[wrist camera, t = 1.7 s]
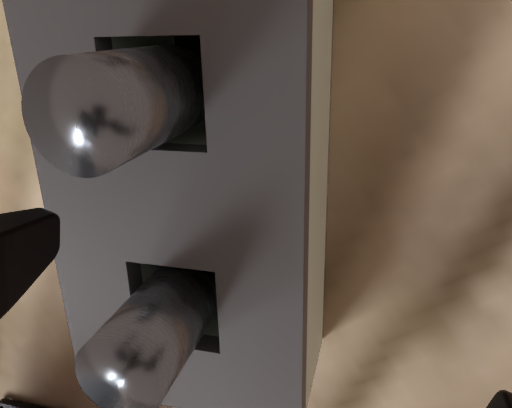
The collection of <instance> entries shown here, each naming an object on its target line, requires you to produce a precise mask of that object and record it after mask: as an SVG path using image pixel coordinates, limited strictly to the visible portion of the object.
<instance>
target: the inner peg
mask: <svg viewBox="0 0 512 408" xmlns="http://www.w3.org/2000/svg"><path fill="white" fill-rule="evenodd" d="M216 313H217V296H216V280H215V272H211V271H202V270H194V269H185V268H177V267H168V266H159V267H158V268H157V269H156V270H155V271H154V272H153V273H152V274H151V275H150V276H149V277H148V278H147V279H146V280H145V282H144V283H143V284H142V285H141V286H140V287H139V288H138V289H137V290H136V291H135V292H134V293H133V294H132V295H131V296H130V297H129V298H128V299H127V300H126V301H125V302H124V303H123V305H122V306H121V307H120V308H119V309H118V310H117V311H116V312H115V313H114V314H113V315H112V316H111V317H110V318H109V319H108V320H107V321H106V322H105V323H104V324H103V325H102V326H101V328H100V329H99V330H98V331H97V332H96V333H95V334H94V335H93V336H92V337H91V338H90V339H89V340H88V341H87V342H86V343H85V344H84V345H83V346H82V347H81V349H80V350H79V351H78V353H77V355H76V358H75V374H76V377H77V380H78V382H79V384H80V386H81V388H82V389H83V391H84V392H85V394H86V395H87V396H88V397H89V398H90V399H91V400H92V401H93V402H94V403H95V404H96V405H97V406H99V407H100V408H159V406H160V405H161V403H162V402H163V400H164V398H165V397H166V395H167V393H168V392H169V390H170V388H171V387H172V385H173V383H174V382H175V380H176V379H177V377H178V375H179V374H180V372H181V370H182V369H183V367H184V365H185V364H186V362H187V360H188V359H189V357H190V356H191V354H192V352H193V351H194V349H195V347H196V346H197V344H198V342H199V341H200V339H201V337H202V336H203V334H204V332H205V331H206V329H207V328H208V326H209V324H210V323H211V321H212V319H213V318H214V316H215V314H216Z"/></svg>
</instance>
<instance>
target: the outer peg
mask: <svg viewBox="0 0 512 408" xmlns="http://www.w3.org/2000/svg"><path fill="white" fill-rule="evenodd" d="M21 103H22V115H23V120H24V124H25V127H26V130H27V132H28V135H29V137H30V139H31V141H32V142H33V144H34V146H35V147H36V149H37V150H38V151H39V152H40V154H41V155H42V156H43V157H44V158H45V159H46V160H47V161H48V162H49V163H50V164H51V165H53V166H54V167H56V168H57V169H59V170H60V171H62V172H64V173H66V174H69V175H71V176H75V177H80V178H94V177H99V176H102V175H104V174H106V173H108V172H110V171H112V170H114V169H116V168H118V167H120V166H122V165H123V164H125V163H127V162H129V161H131V160H133V159H135V158H137V157H138V156H140V155H142V154H144V153H146V152H148V151H150V150H152V149H153V148H155V147H157V146H159V145H161V144H163V143H165V142H167V141H169V140H170V139H172V138H174V137H176V136H178V135H180V134H182V133H184V132H185V131H187V130H189V129H191V128H193V127H195V126H196V125H197V124H199V123H200V122H201V121H202V120H203V118H204V117H205V108H204V92H203V77H202V62H201V61H200V60H199V59H198V57H196V56H195V55H194V54H193V53H192V52H190V51H189V50H187V49H185V48H183V47H181V46H178V45H173V44H163V45H153V46H143V47H134V48H124V49H114V50H105V51H95V52H85V53H76V54H66V55H57V56H53V57H49V58H47V59H45V60H43V61H42V62H40V63H39V64H38V65H37V66H36V67H35V68H33V70H32V71H31V72H30V74H29V76H28V78H27V79H26V82H25V85H24V88H23V93H22V102H21Z"/></svg>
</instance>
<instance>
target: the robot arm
mask: <svg viewBox="0 0 512 408" xmlns="http://www.w3.org/2000/svg"><path fill="white" fill-rule="evenodd" d="M59 248H60V218H59V216H58V215H57V214H56V213H54V212H51V211H49V210H46V209H44V208H34V209H28V210H22V211H15V212H9V213H3V214H0V319H1V318H2V317H3V316H4V315H5V314H6V313H7V312H8V311H9V310H10V309H11V308H12V307H13V305H14V304H15V303H16V302H17V301H18V300H19V299H20V298H21V296H22V295H23V294H24V293H25V292H26V291H27V290H28V288H29V287H30V286H31V285H32V284H33V283H34V281H35V280H36V279H37V278H38V277H39V276H40V275H41V273H42V272H43V271H44V270H45V269H46V268H47V266H48V265H49V264H50V263H51V262H52V261H53V260H54V258H55V257H56V255H57V254H58V252H59ZM0 408H44V407H39V406H34V405H30V404H25V403H21V402H16V401H12V400H7V399H1V400H0ZM486 408H512V393H511V392H508V391H506V390H500V391H498V392H497V393H496V394H495V396H494V397H493V398H492V400H491V401H490V403H489V404H488V406H487V407H486Z"/></svg>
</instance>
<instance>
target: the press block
mask: <svg viewBox="0 0 512 408" xmlns="http://www.w3.org/2000/svg"><path fill="white" fill-rule="evenodd" d="M2 1H3V6H4V11H5V16H6V21H7V26H8V31H9V36H10V41H11V46H12V51H13V56H14V60H15V65H16V70H17V75H18V80H19V85H20V90H21V95H22V93H23V88H24V85H25V82H26V79H27V78H28V76H29V74H30V72H31V71H32V70H33V68H35V67H36V66H37V65H38V64H39V63H40V62H42V61H43V60H45V59H47V58H49V57H53V56H57V55H66V54H76V53H85V52H95V51H105V50H114V49H124V48H134V47H143V46H153V45H163V44H173V45H175V37H174V35H200V45H201V61H202V77H203V92H204V108H205V117H204V118H203V120H202V121H201V122H200V123H199V124H197V125H196V126H195V127H193V128H191V129H189V130H187V131H185V132H184V133H182V134H180V135H178V136H176V137H174V138H172V139H170V140H169V141H167V142H165V143H163V144H161V145H159V146H157V147H155V148H153V149H152V150H150V151H148V152H146V153H144V154H142V155H140V156H138V157H137V158H135V159H133V160H131V161H129V162H127V163H125V164H123V165H122V166H120V167H118V168H116V169H114V170H112V171H110V172H108V173H106V174H104V175H102V176H99V177H94V178H80V177H75V176H71V175H69V174H66V173H64V172H62V171H60V170H59V169H57V168H56V167H54V166H53V165H51V164H50V163H49V162H48V161H47V160H46V159H45V158H44V157H43V156H42V155H41V154H40V152H39V151H38V150H37V149H36V147H35V146H34V144H33V142H32V141H31V144H32V149H33V154H34V159H35V164H36V169H37V174H38V179H39V184H40V189H41V194H42V199H43V204H44V209H46V210H49V211H51V212H54V213H56V214H57V215H58V216H59V218H60V248H59V252H58V254H57V255H56V257H55V263H56V268H57V273H58V278H59V283H60V287H61V292H62V297H63V302H64V307H65V312H66V317H67V322H68V327H69V332H70V337H71V342H72V347H73V352H74V357H75V358H76V355H77V353H78V351H79V350H80V349H81V347H82V346H83V345H84V344H85V343H86V342H87V341H88V340H89V339H90V338H91V337H92V336H93V335H94V334H95V333H96V332H97V331H98V330H99V329H100V328H101V326H102V325H103V324H104V323H105V322H106V321H107V320H108V319H109V318H110V317H111V316H112V315H113V314H114V313H115V312H116V311H117V310H118V309H119V308H120V307H121V306H122V305H123V303H124V302H125V301H126V300H127V299H128V298H129V297H130V296H131V295H132V294H133V293H134V292H135V291H136V290H137V289H138V288H139V287H140V286H141V285H142V284H143V283H144V282H145V280H146V279H147V278H148V277H149V276H150V275H151V274H152V273H153V272H154V271H155V270H156V269H157V268H158V267H159V266H168V267H177V268H185V269H194V270H202V271H211V272H215V280H216V296H217V313H216V314H215V316H214V318H213V319H212V321H211V323H210V324H209V326H208V328H207V329H206V331H205V332H204V334H203V336H202V337H201V339H200V341H199V342H198V344H197V346H196V347H195V349H194V351H193V352H192V354H191V356H190V357H189V359H188V360H187V362H186V364H185V365H184V367H183V369H182V370H181V372H180V374H179V375H178V377H177V379H176V380H175V382H174V383H173V385H172V387H171V388H170V390H169V392H168V393H167V395H166V397H165V398H164V400H163V402H162V403H161V405H165V406H170V407H175V408H307V405H308V401H309V396H310V392H311V387H312V383H313V378H314V374H315V369H316V365H317V361H318V356H319V352H320V347H321V343H322V333H323V302H324V271H325V240H326V210H327V179H328V148H329V117H330V87H331V56H332V25H333V0H2ZM81 389H82V388H81Z"/></svg>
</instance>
